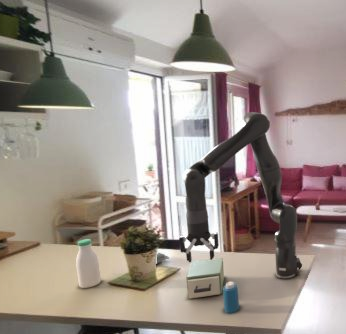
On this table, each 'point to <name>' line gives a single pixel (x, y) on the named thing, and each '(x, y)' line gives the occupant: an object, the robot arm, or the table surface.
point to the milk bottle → (87, 265)
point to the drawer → (203, 286)
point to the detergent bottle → (230, 297)
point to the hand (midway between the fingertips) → (201, 260)
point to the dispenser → (207, 270)
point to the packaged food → (161, 257)
